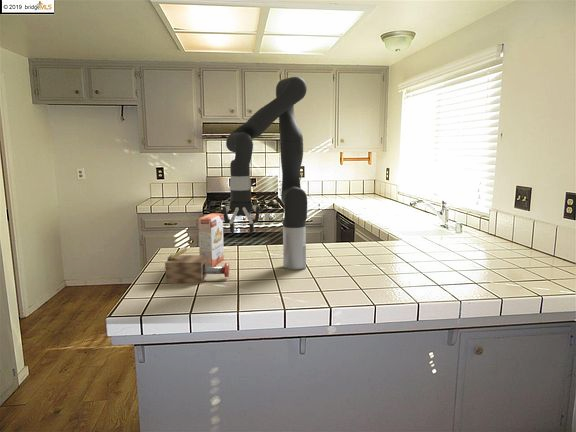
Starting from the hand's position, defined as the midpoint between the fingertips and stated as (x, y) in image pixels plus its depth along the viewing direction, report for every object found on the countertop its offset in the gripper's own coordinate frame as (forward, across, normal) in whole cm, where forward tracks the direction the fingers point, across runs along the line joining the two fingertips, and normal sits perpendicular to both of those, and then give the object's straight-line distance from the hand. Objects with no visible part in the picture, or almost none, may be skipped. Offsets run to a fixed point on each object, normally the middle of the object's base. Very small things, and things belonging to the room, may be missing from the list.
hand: (241, 233), depth 151 cm
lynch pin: (+17, +13, 0) cm, 21 cm away
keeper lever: (+8, +24, 0) cm, 25 cm away
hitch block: (+18, +21, 0) cm, 28 cm away
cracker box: (+18, +15, -21) cm, 31 cm away
